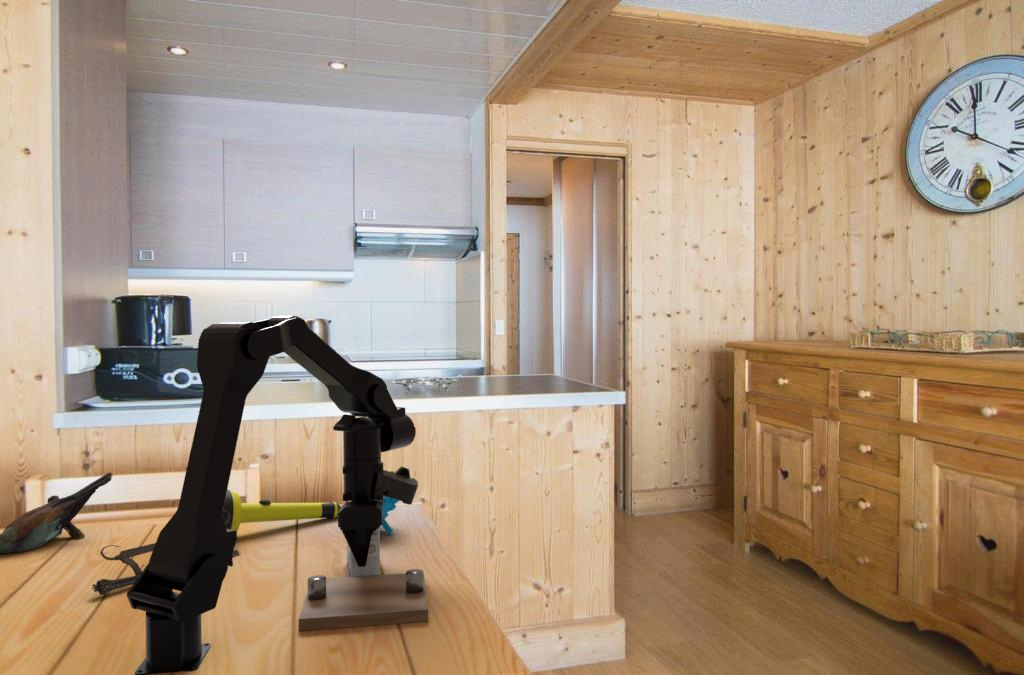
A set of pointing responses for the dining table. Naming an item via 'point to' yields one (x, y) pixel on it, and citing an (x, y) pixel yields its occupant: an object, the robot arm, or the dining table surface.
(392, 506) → the blue jagged branching piece
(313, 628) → the board
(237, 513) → the flashlight
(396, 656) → the dining table surface
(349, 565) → the medicine box
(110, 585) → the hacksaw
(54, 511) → the bird figurine
